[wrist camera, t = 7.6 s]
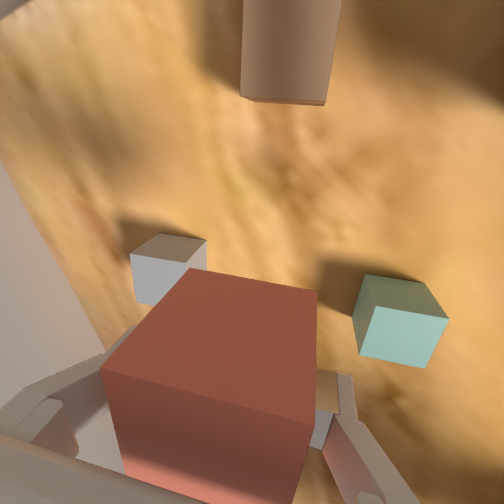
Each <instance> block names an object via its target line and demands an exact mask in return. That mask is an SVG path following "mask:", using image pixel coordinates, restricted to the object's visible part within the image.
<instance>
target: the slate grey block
mask: <svg viewBox="0 0 504 504" xmlns="http://www.w3.org/2000/svg"><path fill="white" fill-rule="evenodd" d="M130 261H131V268H132V275H133V282H134V289H135V296H136V302H138V303H143V304H148V305H153V306H156V304H157V303H158V302H159V301H160V300H161V299H162V298H163V297H164V296H165V294H166V293H167V292H168V291H169V290H170V289H171V288H172V287H173V286H174V285H175V283H176V282H177V281H178V280H179V279H180V278H181V277H182V276H183V275H184V273H185V272H186V271H187V270H188V269H189V268H195V269H200V270H206V271H207V240H202V239H195V238H189V237H182V236H176V235H170V234H163V233H158V234H157V235H156V236H154V237H153V238H151V239H150V240H148V241H147V242H145V243H144V244H143V245H141V246H140V247H138V248H137V249H135V250H134V251H133V252H131V253H130Z"/></svg>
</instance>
